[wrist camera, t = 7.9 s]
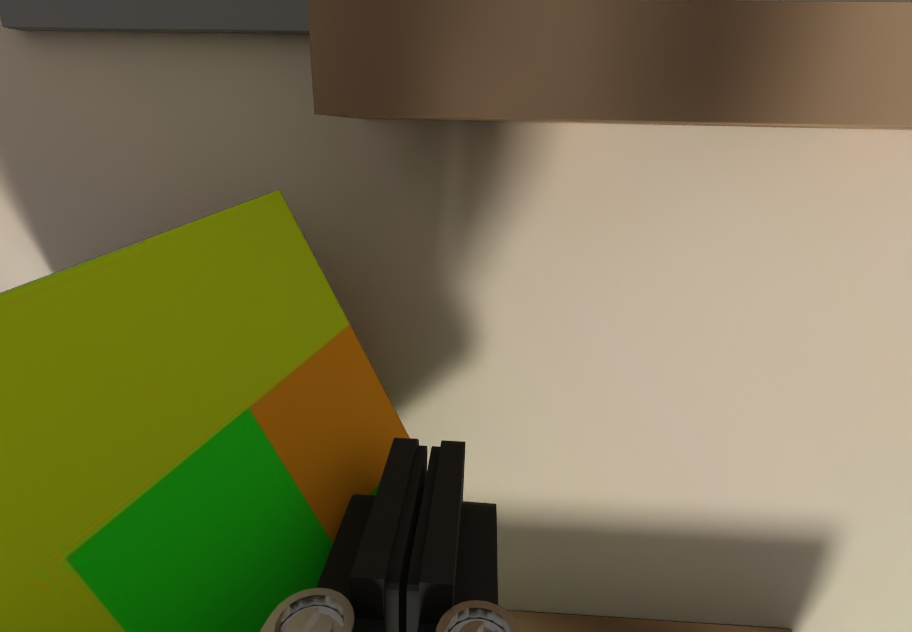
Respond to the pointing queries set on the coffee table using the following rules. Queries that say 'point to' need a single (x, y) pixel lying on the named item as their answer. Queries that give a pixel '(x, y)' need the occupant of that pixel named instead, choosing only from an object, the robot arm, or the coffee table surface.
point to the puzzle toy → (181, 430)
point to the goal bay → (158, 15)
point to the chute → (616, 85)
